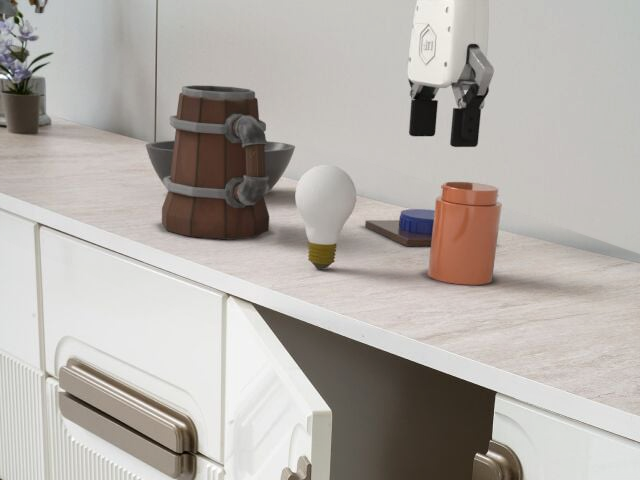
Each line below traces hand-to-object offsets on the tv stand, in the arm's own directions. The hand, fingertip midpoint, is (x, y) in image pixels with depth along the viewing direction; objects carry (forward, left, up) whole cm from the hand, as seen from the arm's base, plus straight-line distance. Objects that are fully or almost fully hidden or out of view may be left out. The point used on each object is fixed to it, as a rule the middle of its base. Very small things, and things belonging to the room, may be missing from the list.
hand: (442, 141), depth 127 cm
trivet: (+1, 0, -11) cm, 11 cm away
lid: (+1, 0, -9) cm, 9 cm away
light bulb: (+21, +15, -11) cm, 28 cm away
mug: (+25, -3, -11) cm, 27 cm away
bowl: (+17, -28, -11) cm, 34 cm away
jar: (+8, +20, -11) cm, 24 cm away
